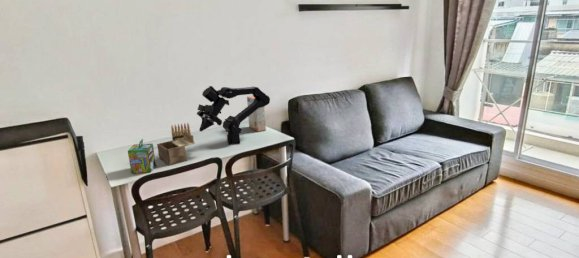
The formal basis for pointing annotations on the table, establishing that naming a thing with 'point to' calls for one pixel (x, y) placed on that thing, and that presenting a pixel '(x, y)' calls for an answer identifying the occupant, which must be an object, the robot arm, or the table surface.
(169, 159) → the walnut box
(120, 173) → the table surface
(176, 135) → the ammunition clip
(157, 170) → the table surface
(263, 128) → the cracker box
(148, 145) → the chalk box
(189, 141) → the lid
